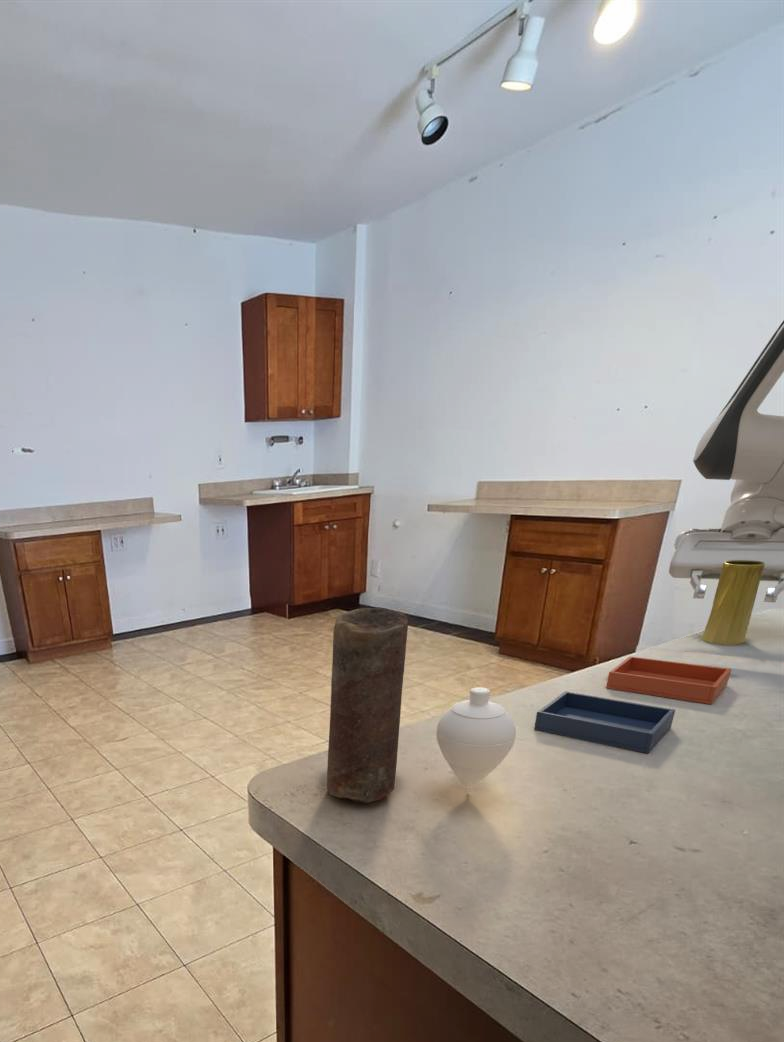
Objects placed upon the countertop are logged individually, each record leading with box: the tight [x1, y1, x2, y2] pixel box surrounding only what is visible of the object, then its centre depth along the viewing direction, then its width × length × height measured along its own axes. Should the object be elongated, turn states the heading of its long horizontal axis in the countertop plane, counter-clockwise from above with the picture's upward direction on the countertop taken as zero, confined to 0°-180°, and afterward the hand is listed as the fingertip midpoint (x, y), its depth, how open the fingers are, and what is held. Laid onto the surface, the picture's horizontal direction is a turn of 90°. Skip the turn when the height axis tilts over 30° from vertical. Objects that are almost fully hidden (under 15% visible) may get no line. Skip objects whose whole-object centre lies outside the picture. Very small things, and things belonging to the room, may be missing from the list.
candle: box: [326, 607, 409, 804], centre depth 67 cm, size 8×7×20 cm
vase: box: [701, 560, 765, 646], centre depth 106 cm, size 6×6×14 cm
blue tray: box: [534, 691, 676, 754], centre depth 82 cm, size 13×10×2 cm
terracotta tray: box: [605, 656, 732, 705], centre depth 94 cm, size 13×10×2 cm
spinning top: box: [435, 686, 517, 795], centre depth 67 cm, size 8×8×12 cm
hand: (733, 598), depth 106 cm, fingers open, 8 cm apart
